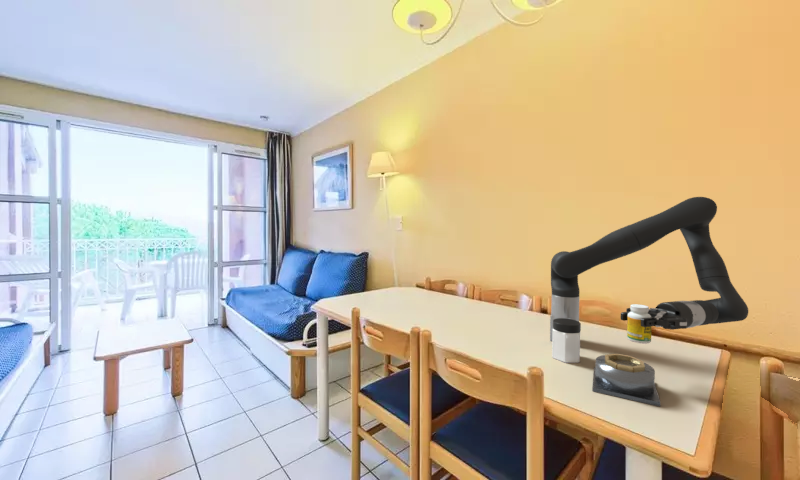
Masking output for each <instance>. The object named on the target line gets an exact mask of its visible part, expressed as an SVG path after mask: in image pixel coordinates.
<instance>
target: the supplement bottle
mask: <svg viewBox="0 0 800 480" xmlns="http://www.w3.org/2000/svg"><path fill="white" fill-rule="evenodd" d="M629 308H630V309H631V311H632V312H629V313H628V315H627V320H626V321H627V325H626V326H627V327H626V329H627V331H626V337H627V340H629V341H631V342H634V343H637V344H645V345H646V344H651V342H652V327H653V326H651V327H642V326H641V319H642V318H649V317H651V315H649V314H648V311H649V309H650V307H649V306H648V305H644V304H636V303H634V304H633V303H632V304H630V307H629Z"/></svg>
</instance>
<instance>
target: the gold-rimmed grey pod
mask: <svg viewBox="0 0 800 480" xmlns="http://www.w3.org/2000/svg"><path fill="white" fill-rule="evenodd" d="M655 373H656V370H655V368H653V366H651V365H650V364H648V363H646V362H644V360H641V359H638V358H637V357H634V356H631V355H625V354H621V353H609V354H603V355H599V356H597V357H596V358H595V366H593V375H592V390H591V391H592V392H594V393H599V394H602V395H603V394H604V395H607V396H612V397H616V398H620V399H625V400H630V401H634V402H638V403H643V404H647V405H651V406H656V407H661V400H660V397H659V393H658V390H657V388H656V384H655V378H656V377H655Z"/></svg>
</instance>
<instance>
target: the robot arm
mask: <svg viewBox="0 0 800 480" xmlns="http://www.w3.org/2000/svg"><path fill="white" fill-rule="evenodd" d="M717 212H718V206H717V202H715V201H714V199H712V198H709V197H706V196H693V197H690V198H687V199H685V200H683V201H681V202H679V203H676V205H673V206H672V207H669V208H667V209H666V210H664V211H661V212H659V213H656V214H654V215H652V216H649V217H646V218H643V219H641V220H639V221H636V222H633V223H632V224H628V225H626V226H624V227H623V226H622V227H620V228H618V229H616V230H614V231H612V232H609V233H608V234H606V235H604V236H603V237H602V238H599V239H598V240H597V241H595V242H593V243H592V244H589V245H588V246H585V247H582V248H579V249H577V250H572V251H564V250H563V251H559V252H557V253H555V254H554V255H553V257H552V259H551V262H550V286H551V305H550V306H551V309H550V311H551V312H550V319H549V321H550V323H549V326H550V327H549V341H551V342H552V330H553V320H554V319H557V318H566V319H572V320H576V321H578V322H580V287H579V275H581V274H583V273H585V272H586V271H589V270H591V269H592V268H594V267H596V266H599V265H603V264H604V263H605V264H606V263H607V262H610V261H614V260H617V259H620V258H622V257H626V256H630V255H632V254H634V253H637V252H640V251H641V250H644V249H646V248H647V247H649V246H651V245H653V244H655V243H656V242H659V240H662V238H664V237H666V236H668V235H669V234H671V233H674V232H675V231H677V230H680V232H681V234H682V236H683V238H684V240H685V243H686V245H687V247H688V250H689V252H690V255H691V259H692V262H693V267H694V269H695V274H696V277H697V280H698V284H699V287H700V288H701V290H703V291H705V292H710V293H711V292H713V293H714V292H715V293H717V294H719V297H718V298H711V299H705V300H701V299H699V300H698V299H695V300H675V301H664V302H660V303H659V304H657V305H656V307H649V311H648V314H649V315H651V317H649V318H642V319H641V326H642V327H651V326H652V327H654V328H662V329H665V330H673V331H674V330H679V329H680V330H681V329H683V330H684V329H690V328H694V327H695V328H696V327H699V326H705V325H706V326H707V325H715V324H724V323H732V322H734V323H735V322H742V321H744V320H746V318H748V316H749V308H748V305H747V303H746V302H745V301H744V299H743V298H742V296H741V295H740V294H739V292H738V291H737V289H736V288H735V286H734V285H733V283H732V282H731V279H730V275H729V272H728V269H727V266H726V264H725V261H724V259H723V258H722V255H721V254H720V253H719V251H718V250H717V248H716V247H715V246H714V244H713V241H712V238H711V235H710V234H711V233H710V223H711V222H712V220H713V219H714V218H715V217H716V215H717ZM629 312H632V311H631V309H630V307H628V308H626V311H622V312H621V313H620V320H621V321H624V322H625V321H627V315H628V313H629ZM652 327H651V328H652Z"/></svg>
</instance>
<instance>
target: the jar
mask: <svg viewBox="0 0 800 480" xmlns="http://www.w3.org/2000/svg"><path fill="white" fill-rule="evenodd" d="M581 325H582V324H581V322H580V321H579V322H578V321H576V320H572V319H566V318H557V319H554V320H553V330H552V341H551V345H552V347H551V358H552V359H554V360H557V361H559V362H561V363H566V364H567V363H575V364H577V363H578V364H579V363H580V361H581V360H580V358H581V330H582V329H581V328H582V327H581Z"/></svg>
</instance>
